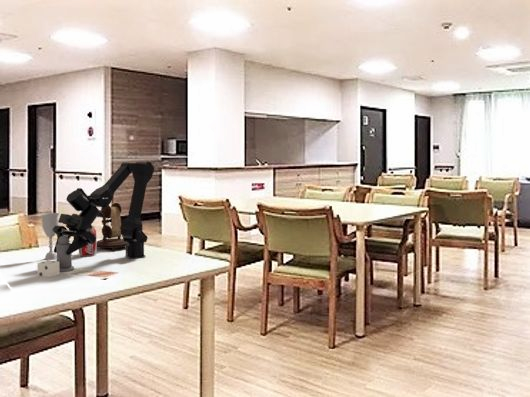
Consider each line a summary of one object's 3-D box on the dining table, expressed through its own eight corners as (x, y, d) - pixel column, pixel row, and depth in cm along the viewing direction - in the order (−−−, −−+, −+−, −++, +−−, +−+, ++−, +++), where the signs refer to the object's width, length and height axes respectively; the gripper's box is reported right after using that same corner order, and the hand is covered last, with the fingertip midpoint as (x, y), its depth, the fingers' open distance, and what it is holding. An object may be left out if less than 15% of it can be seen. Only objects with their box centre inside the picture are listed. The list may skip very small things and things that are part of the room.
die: (37, 277, 193) (37, 263, 193) (48, 274, 198) (47, 260, 197) (49, 278, 191) (49, 264, 191) (59, 275, 196) (59, 261, 196)
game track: (45, 273, 199) (45, 271, 199) (63, 268, 208) (63, 266, 208) (104, 279, 190) (104, 278, 190) (121, 273, 199) (121, 272, 199)
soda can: (100, 254, 234) (99, 226, 233) (89, 258, 227) (89, 228, 226) (86, 253, 236) (85, 225, 235) (75, 256, 229) (74, 227, 228)
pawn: (71, 267, 206) (70, 233, 205) (75, 270, 201) (75, 236, 200) (53, 269, 203) (52, 235, 202) (57, 272, 198) (56, 237, 196)
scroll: (114, 252, 239) (113, 205, 237) (87, 249, 246) (86, 204, 244) (136, 247, 253) (135, 202, 251) (110, 244, 259) (109, 201, 257)
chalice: (53, 260, 221) (52, 215, 220) (38, 259, 223) (36, 214, 221) (63, 257, 228) (62, 213, 227) (48, 256, 230) (47, 212, 228)
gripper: (56, 203, 208) (30, 237, 200) (88, 207, 198) (62, 242, 190) (74, 222, 216) (50, 255, 207) (107, 226, 205) (82, 261, 197)
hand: (60, 253), depth 200 cm, fingers open, 7 cm apart
